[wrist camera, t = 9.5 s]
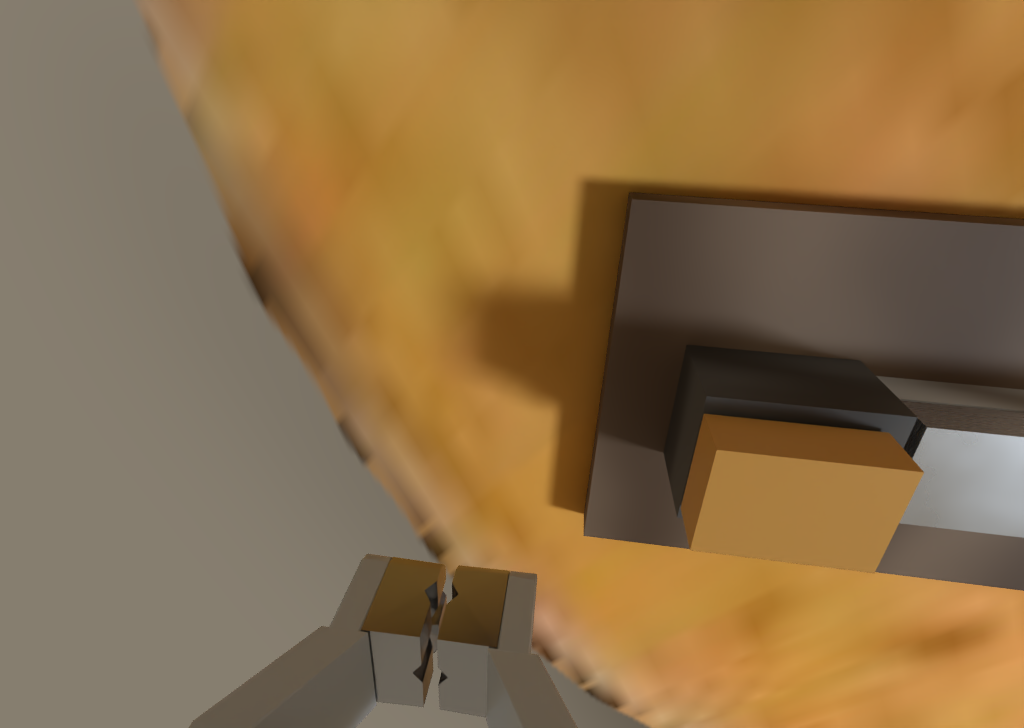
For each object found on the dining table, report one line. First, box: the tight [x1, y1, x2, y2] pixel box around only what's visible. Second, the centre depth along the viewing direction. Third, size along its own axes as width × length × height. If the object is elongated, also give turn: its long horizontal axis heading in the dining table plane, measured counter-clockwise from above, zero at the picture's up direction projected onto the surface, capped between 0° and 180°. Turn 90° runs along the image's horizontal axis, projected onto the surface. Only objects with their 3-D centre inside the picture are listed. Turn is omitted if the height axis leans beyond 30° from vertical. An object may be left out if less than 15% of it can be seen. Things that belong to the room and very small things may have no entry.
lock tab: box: [681, 414, 924, 573], centre depth 12 cm, size 4×3×1 cm
